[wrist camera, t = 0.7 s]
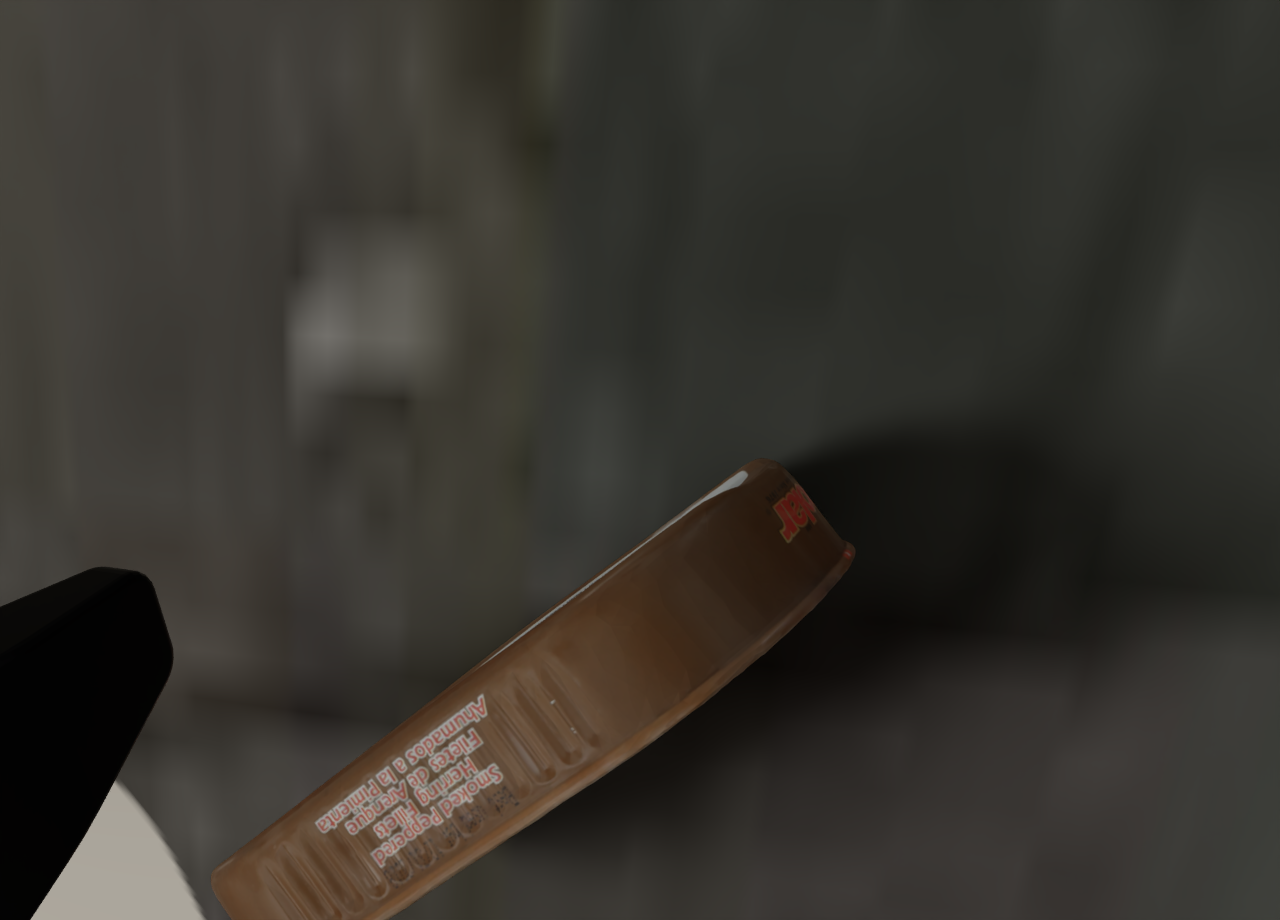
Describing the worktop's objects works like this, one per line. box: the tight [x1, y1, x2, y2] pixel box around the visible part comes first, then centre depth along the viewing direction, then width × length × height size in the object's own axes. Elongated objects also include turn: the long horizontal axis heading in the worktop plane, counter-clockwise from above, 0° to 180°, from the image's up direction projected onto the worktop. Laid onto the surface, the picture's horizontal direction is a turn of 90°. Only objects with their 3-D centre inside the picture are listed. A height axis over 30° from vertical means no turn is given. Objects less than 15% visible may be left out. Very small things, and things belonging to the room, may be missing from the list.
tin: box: [211, 458, 856, 920], centre depth 24 cm, size 15×3×8 cm, turn 129°
